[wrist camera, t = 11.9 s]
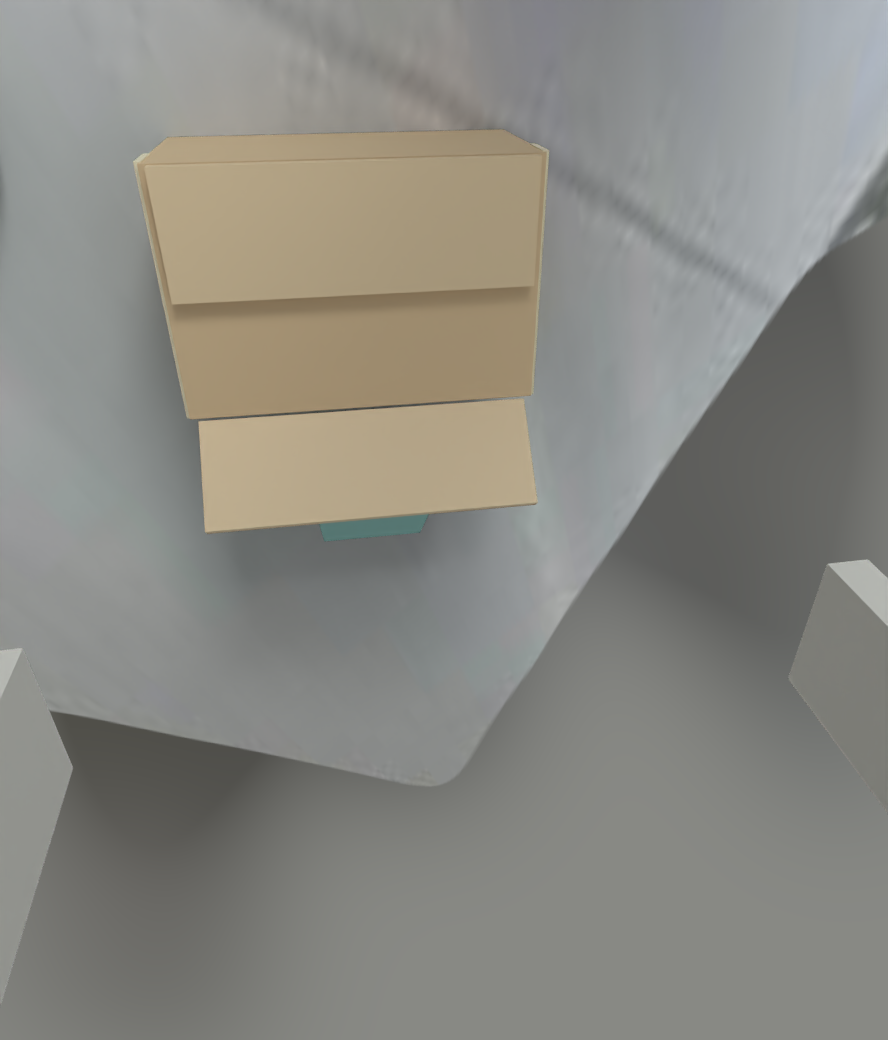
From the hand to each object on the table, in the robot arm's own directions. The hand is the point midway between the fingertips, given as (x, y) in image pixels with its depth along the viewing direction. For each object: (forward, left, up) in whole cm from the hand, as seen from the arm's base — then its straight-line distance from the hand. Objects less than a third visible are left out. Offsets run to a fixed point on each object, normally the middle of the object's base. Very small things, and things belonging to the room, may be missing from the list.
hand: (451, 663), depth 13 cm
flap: (+10, 0, -26) cm, 28 cm away
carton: (+2, 0, -37) cm, 37 cm away
